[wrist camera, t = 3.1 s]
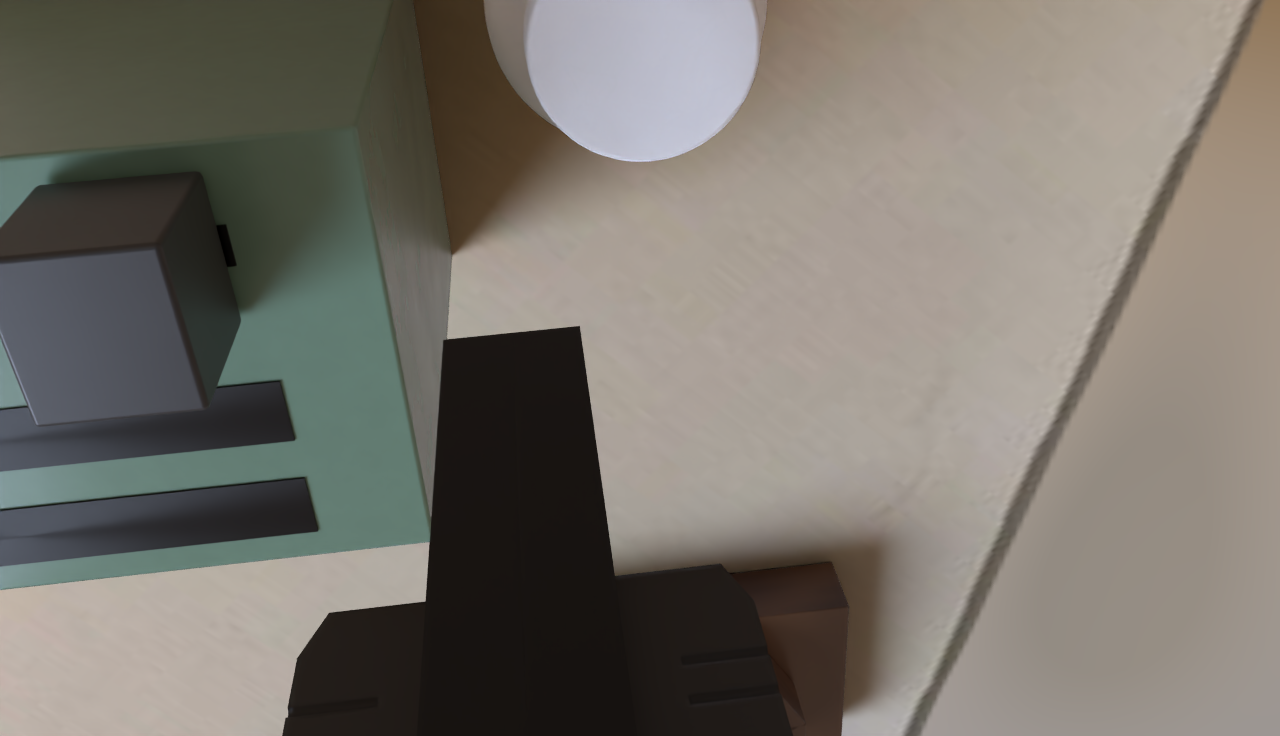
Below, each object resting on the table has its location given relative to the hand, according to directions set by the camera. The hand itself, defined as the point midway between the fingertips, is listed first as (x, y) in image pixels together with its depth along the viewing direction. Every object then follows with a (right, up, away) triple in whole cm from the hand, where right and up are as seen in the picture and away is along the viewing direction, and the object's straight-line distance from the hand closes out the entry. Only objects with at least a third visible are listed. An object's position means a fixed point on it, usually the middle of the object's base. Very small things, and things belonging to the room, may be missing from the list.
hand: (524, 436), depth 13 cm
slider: (-6, +2, +4) cm, 8 cm away
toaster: (-11, +6, +16) cm, 20 cm away
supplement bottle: (0, +11, +14) cm, 18 cm away
